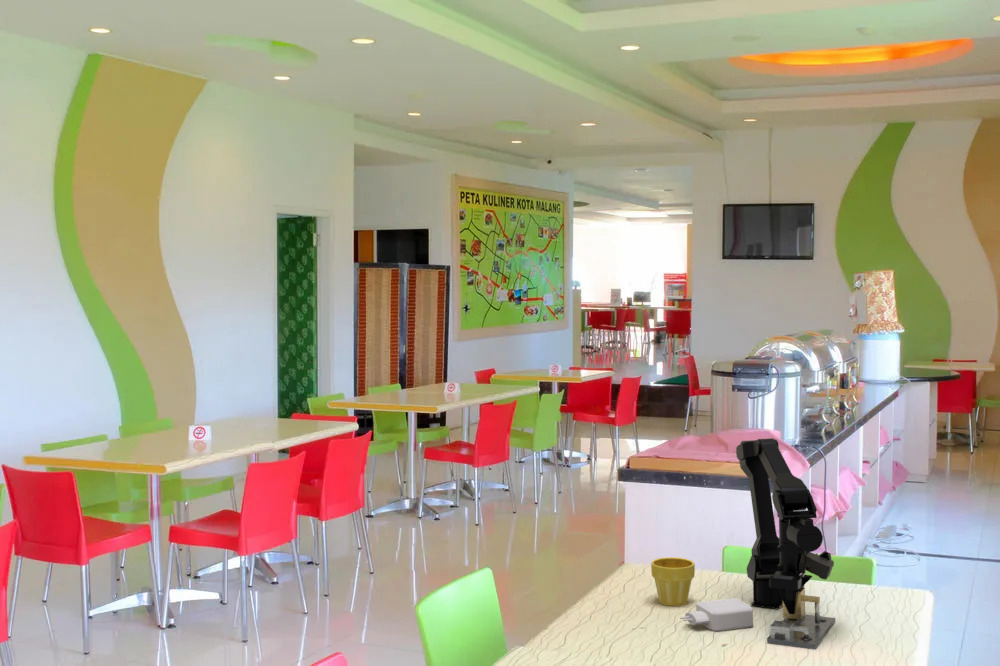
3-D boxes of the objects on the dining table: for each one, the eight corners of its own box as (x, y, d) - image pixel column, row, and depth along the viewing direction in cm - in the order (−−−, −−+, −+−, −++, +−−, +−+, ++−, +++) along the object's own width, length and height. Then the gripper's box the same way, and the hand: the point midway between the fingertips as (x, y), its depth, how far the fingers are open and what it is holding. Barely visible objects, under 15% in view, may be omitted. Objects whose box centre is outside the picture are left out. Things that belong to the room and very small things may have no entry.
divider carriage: (783, 621, 233) (782, 590, 233) (787, 616, 237) (786, 585, 236) (817, 625, 230) (817, 594, 229) (821, 620, 233) (821, 589, 233)
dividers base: (767, 643, 223) (766, 626, 223) (789, 617, 241) (789, 601, 241) (815, 649, 218) (815, 632, 218) (835, 622, 236) (834, 606, 236)
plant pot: (703, 605, 252) (702, 564, 252) (666, 610, 248) (665, 569, 248) (681, 594, 262) (680, 555, 261) (644, 599, 258) (643, 560, 258)
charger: (673, 624, 239) (733, 616, 243) (691, 636, 230) (753, 628, 234) (672, 603, 239) (732, 596, 243) (691, 614, 230) (753, 607, 234)
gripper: (820, 553, 221) (822, 627, 222) (838, 535, 238) (840, 604, 238) (767, 549, 227) (769, 621, 227) (788, 531, 243) (790, 599, 244)
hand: (794, 611), depth 234 cm, fingers closed on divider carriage, 4 cm apart
